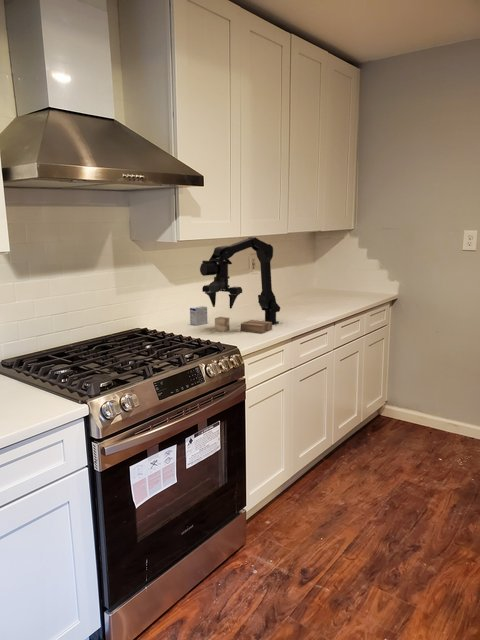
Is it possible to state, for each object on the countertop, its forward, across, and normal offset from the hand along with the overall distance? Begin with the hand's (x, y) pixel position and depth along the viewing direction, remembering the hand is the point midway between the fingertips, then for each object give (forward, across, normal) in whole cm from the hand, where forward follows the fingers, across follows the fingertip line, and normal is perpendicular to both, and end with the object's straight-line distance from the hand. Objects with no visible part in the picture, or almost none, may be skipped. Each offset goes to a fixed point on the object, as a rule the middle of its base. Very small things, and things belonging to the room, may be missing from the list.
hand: (222, 307), depth 239 cm
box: (+11, -18, +7) cm, 22 cm away
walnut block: (+11, +14, +8) cm, 20 cm away
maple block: (+11, 0, 0) cm, 11 cm away
